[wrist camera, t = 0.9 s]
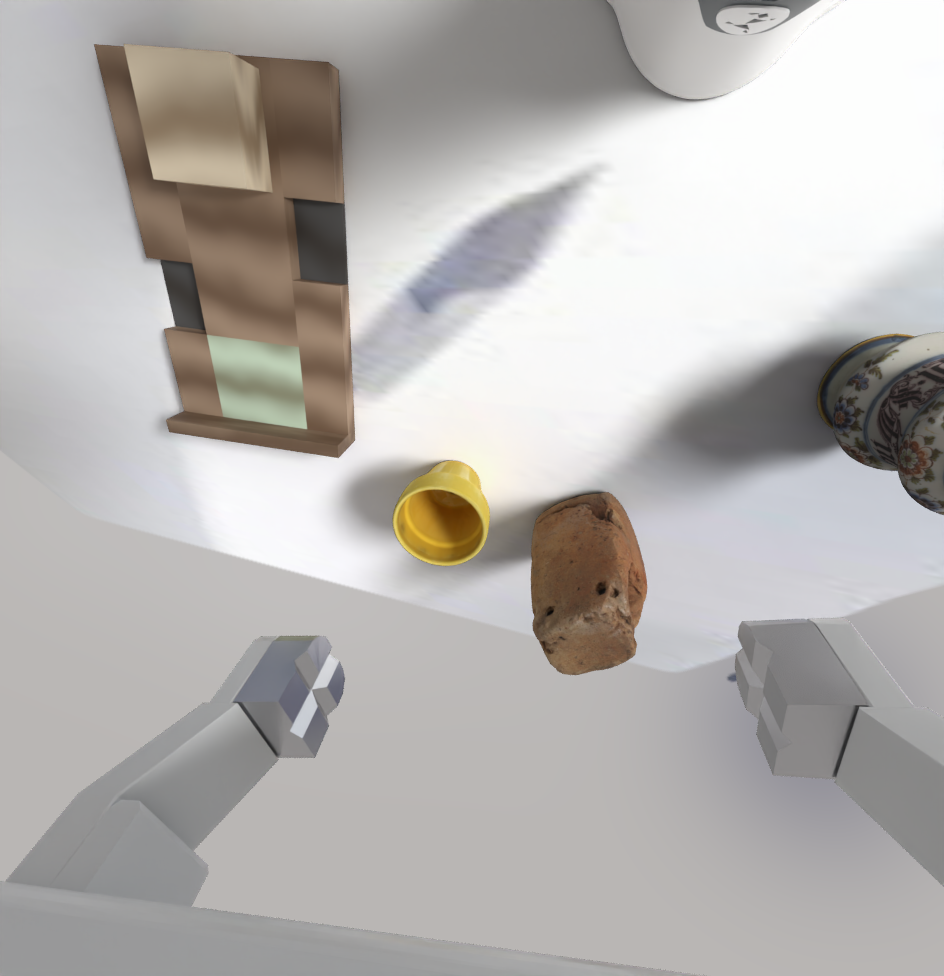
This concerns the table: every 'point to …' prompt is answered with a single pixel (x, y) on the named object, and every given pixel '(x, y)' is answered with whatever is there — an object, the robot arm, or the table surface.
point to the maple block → (201, 117)
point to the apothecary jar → (892, 409)
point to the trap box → (254, 269)
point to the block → (586, 584)
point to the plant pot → (443, 515)
